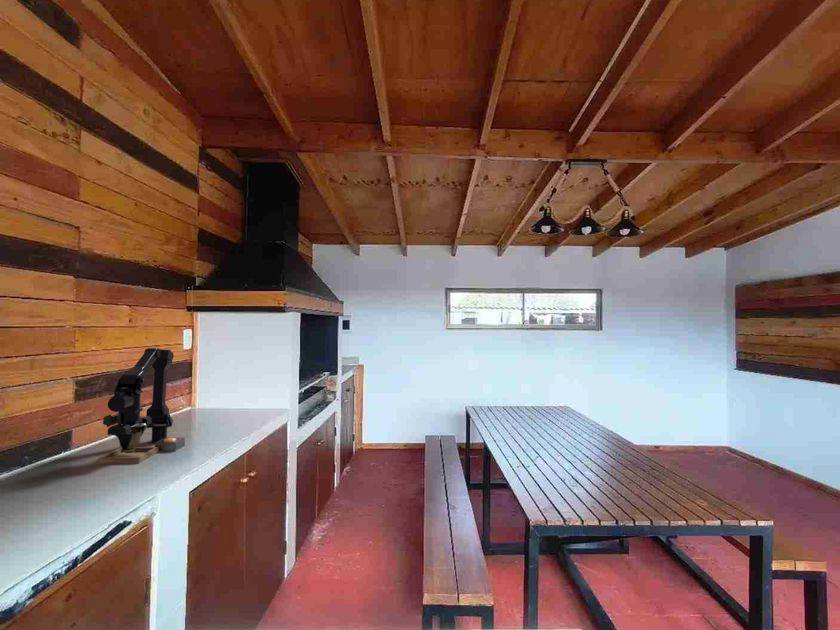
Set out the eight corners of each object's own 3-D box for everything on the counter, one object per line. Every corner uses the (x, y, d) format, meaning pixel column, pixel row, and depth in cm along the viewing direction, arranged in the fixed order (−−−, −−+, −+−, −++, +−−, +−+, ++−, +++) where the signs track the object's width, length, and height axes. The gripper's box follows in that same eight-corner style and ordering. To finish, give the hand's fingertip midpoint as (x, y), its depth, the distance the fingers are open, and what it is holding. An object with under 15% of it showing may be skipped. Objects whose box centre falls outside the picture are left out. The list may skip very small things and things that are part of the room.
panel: (164, 446, 178) (164, 437, 178) (184, 445, 179) (184, 437, 179) (154, 451, 170) (154, 442, 170) (175, 451, 171) (175, 442, 171)
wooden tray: (121, 452, 168) (121, 447, 168) (158, 452, 169) (158, 446, 169) (97, 464, 154) (97, 458, 154) (138, 463, 155) (138, 457, 155)
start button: (167, 443, 176) (167, 437, 177) (178, 443, 177) (178, 437, 177) (161, 446, 172) (161, 440, 172) (173, 446, 173) (173, 440, 173)
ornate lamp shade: (146, 450, 164) (146, 429, 164) (127, 456, 157) (128, 434, 157) (132, 448, 166) (132, 428, 167) (113, 453, 160) (113, 432, 160)
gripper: (123, 402, 171) (122, 441, 170) (92, 411, 152) (90, 455, 152) (152, 402, 172) (151, 441, 171) (125, 411, 153) (124, 455, 153)
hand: (130, 447), depth 162 cm, fingers closed on ornate lamp shade, 6 cm apart
